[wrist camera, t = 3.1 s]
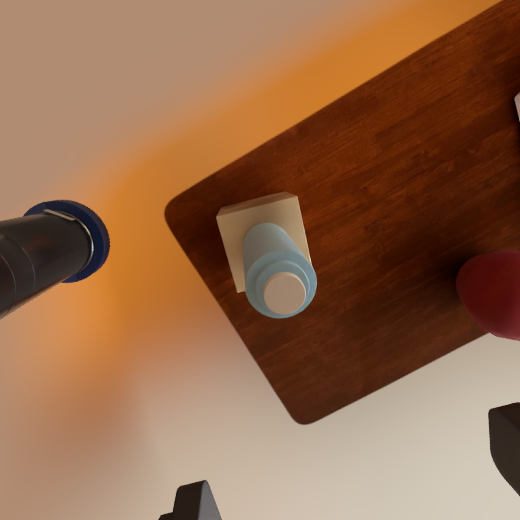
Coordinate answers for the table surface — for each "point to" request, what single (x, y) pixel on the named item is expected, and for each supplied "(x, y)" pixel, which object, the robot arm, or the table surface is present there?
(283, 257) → the bottle
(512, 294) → the apple
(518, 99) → the crystal
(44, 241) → the robot arm
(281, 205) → the cube
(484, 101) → the table surface
